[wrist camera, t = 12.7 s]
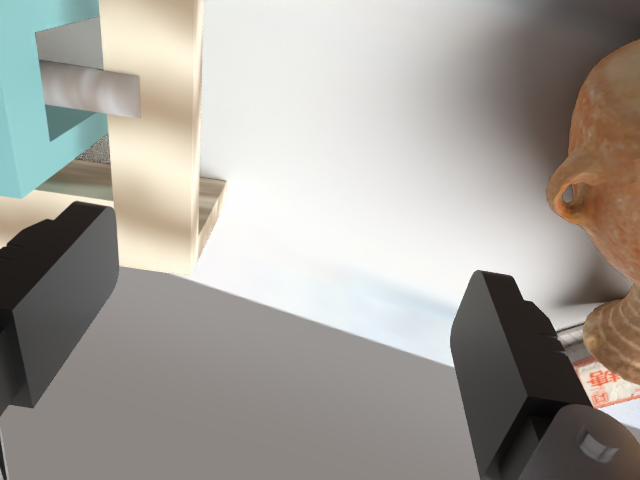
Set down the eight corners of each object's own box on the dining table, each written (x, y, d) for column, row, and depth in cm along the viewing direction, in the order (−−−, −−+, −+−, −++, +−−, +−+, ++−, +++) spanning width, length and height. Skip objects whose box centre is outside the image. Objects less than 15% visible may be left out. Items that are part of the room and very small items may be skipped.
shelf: (-63, -174, 32) (-285, -241, 21) (242, -122, 33) (188, -161, 22) (2, 168, 44) (-117, 243, 33) (226, 201, 45) (185, 285, 34)
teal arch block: (42, -29, 33) (-108, -20, 22) (104, -19, 33) (-15, -5, 22) (61, 120, 38) (-54, 188, 27) (114, 128, 38) (21, 198, 27)
